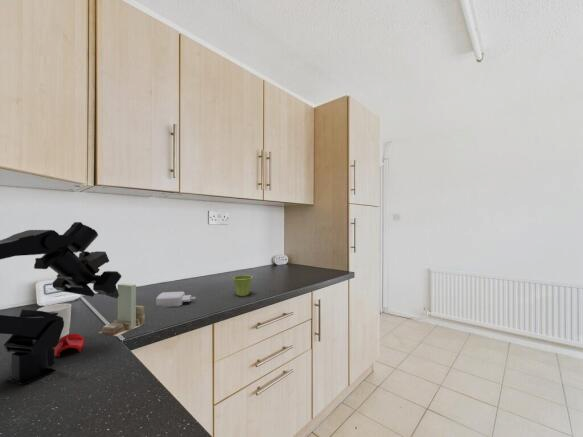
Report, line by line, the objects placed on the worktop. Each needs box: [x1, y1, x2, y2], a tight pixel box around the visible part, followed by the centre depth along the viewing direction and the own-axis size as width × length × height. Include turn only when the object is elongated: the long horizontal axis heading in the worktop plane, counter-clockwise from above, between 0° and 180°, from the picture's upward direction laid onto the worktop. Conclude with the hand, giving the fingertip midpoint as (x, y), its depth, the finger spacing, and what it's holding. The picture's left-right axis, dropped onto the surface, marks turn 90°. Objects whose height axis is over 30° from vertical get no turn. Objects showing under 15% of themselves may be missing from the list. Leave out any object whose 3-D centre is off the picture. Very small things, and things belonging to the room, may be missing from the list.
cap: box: [53, 333, 86, 358], centre depth 71 cm, size 8×6×6 cm
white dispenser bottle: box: [155, 291, 197, 308], centre depth 116 cm, size 5×9×15 cm
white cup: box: [36, 303, 72, 339], centre depth 81 cm, size 8×8×10 cm
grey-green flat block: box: [117, 282, 137, 328], centre depth 88 cm, size 2×6×14 cm, turn 72°
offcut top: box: [102, 321, 123, 331], centre depth 84 cm, size 3×4×1 cm
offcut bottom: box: [101, 326, 125, 336], centre depth 84 cm, size 4×5×1 cm
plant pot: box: [232, 274, 253, 297], centre depth 130 cm, size 9×9×9 cm
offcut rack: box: [98, 304, 146, 337], centre depth 87 cm, size 10×8×7 cm
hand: (105, 296), depth 81 cm, fingers open, 9 cm apart
